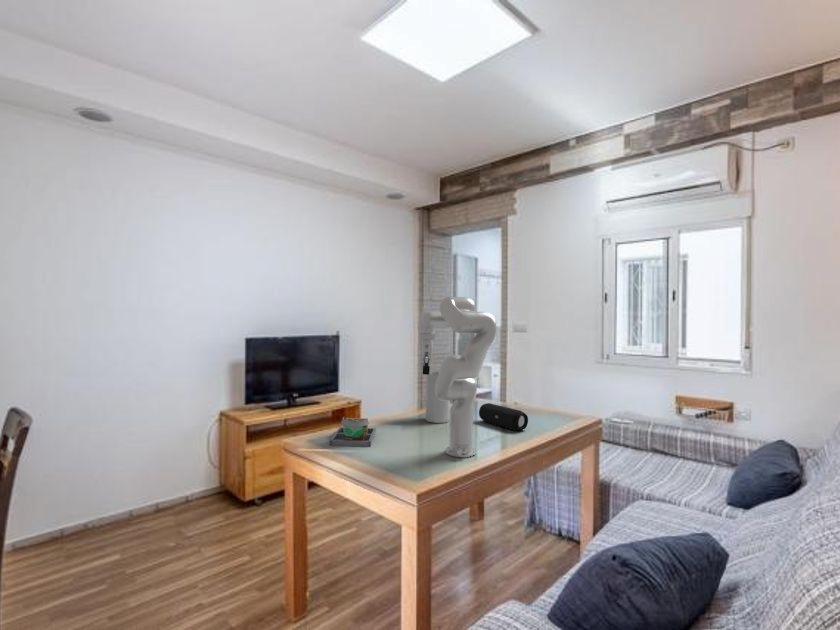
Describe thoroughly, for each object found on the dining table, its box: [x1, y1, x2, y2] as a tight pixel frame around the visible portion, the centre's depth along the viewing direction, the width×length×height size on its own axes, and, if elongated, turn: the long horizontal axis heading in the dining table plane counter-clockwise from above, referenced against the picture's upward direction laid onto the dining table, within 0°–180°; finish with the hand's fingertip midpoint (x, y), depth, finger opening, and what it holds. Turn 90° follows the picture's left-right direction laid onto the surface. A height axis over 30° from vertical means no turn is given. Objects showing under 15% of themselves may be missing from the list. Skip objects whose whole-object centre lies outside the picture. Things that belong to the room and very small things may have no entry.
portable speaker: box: [478, 402, 529, 431], centre depth 232 cm, size 26×10×10 cm, turn 40°
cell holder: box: [329, 426, 377, 448], centre depth 199 cm, size 21×17×3 cm
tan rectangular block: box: [345, 417, 369, 434], centre depth 204 cm, size 6×10×7 cm, turn 90°
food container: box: [340, 416, 370, 441], centre depth 193 cm, size 12×6×10 cm, turn 72°
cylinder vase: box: [425, 371, 451, 424], centre depth 239 cm, size 12×12×25 cm
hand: (425, 372), depth 216 cm, fingers open, 9 cm apart
